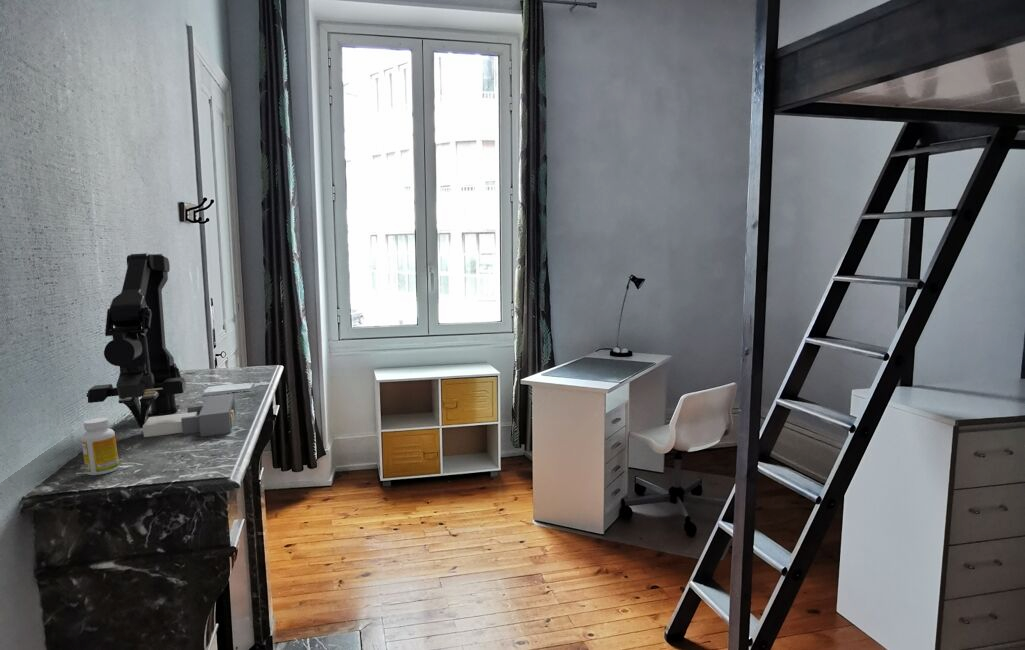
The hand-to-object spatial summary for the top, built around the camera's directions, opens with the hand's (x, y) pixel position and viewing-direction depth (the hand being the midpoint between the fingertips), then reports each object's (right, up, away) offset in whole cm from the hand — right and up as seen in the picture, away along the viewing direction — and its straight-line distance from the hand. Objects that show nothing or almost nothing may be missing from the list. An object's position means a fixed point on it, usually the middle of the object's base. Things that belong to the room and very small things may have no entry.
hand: (142, 427), depth 153 cm
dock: (+13, 0, +5) cm, 14 cm away
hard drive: (+3, +4, +41) cm, 41 cm away
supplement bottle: (+6, -5, -25) cm, 26 cm away
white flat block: (+6, -1, +2) cm, 6 cm away
